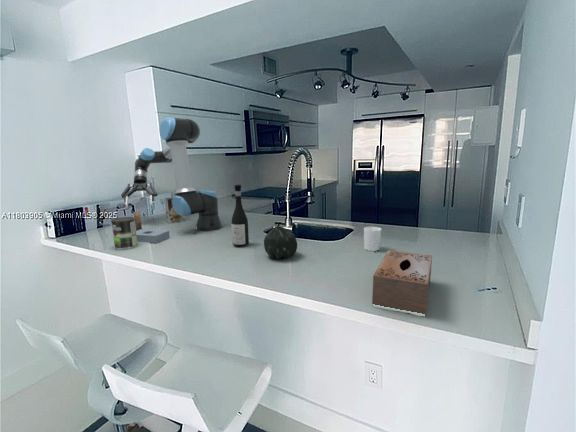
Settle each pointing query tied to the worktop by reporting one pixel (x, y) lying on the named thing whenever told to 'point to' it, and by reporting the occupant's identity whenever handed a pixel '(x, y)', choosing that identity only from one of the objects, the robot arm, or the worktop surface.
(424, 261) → the tissue box cover
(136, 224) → the dowel
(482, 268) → the worktop surface
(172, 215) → the coffee box
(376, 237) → the white cup
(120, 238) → the coffee can
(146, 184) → the robot arm
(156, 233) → the socket board
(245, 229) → the wine bottle
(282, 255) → the squash
